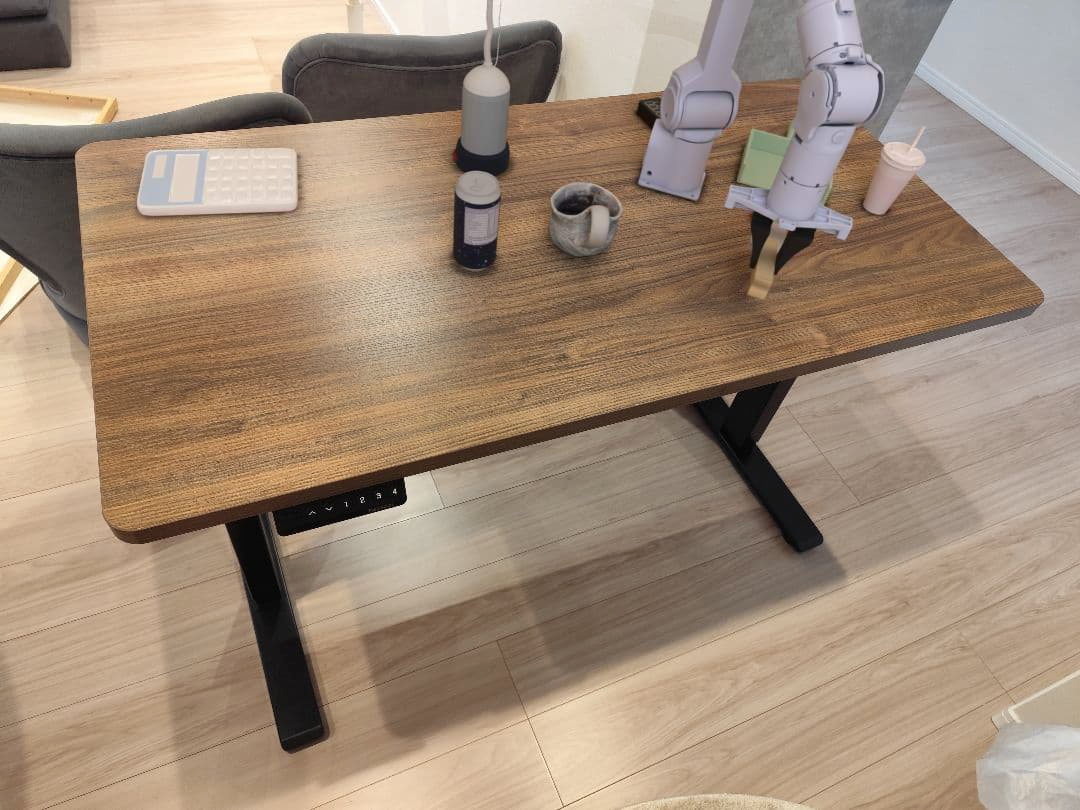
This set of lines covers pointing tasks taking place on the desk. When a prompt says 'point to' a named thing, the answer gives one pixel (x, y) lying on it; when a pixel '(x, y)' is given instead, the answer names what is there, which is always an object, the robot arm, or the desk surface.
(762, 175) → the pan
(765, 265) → the fork
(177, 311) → the desk surface
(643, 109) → the multiport hub
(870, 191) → the smoothie
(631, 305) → the desk surface
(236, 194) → the calculator
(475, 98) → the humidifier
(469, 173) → the beverage can
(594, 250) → the mug
